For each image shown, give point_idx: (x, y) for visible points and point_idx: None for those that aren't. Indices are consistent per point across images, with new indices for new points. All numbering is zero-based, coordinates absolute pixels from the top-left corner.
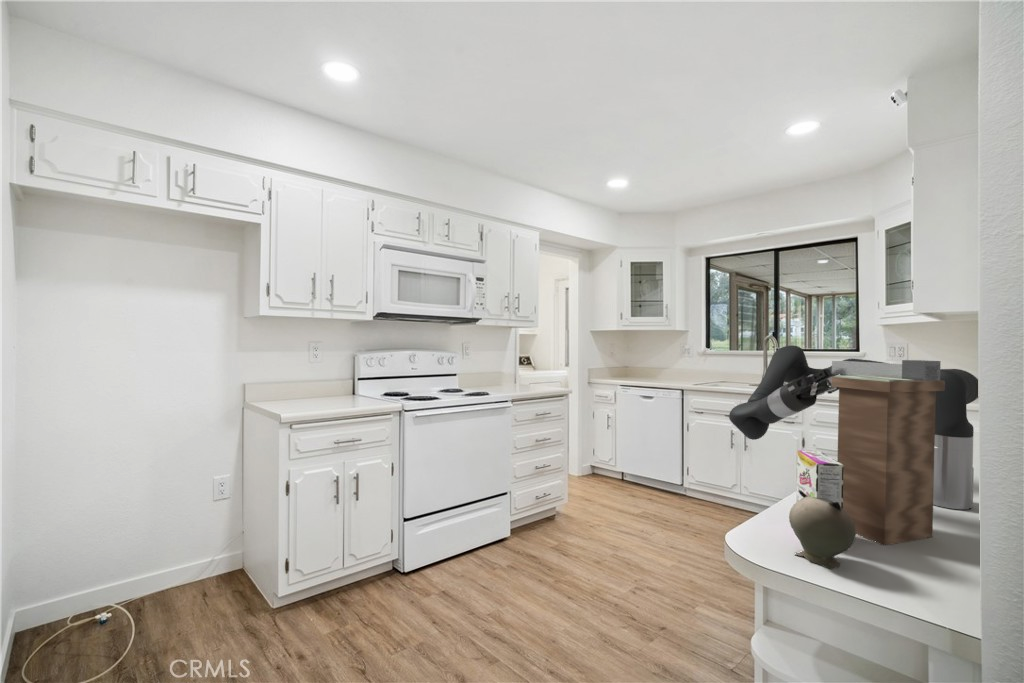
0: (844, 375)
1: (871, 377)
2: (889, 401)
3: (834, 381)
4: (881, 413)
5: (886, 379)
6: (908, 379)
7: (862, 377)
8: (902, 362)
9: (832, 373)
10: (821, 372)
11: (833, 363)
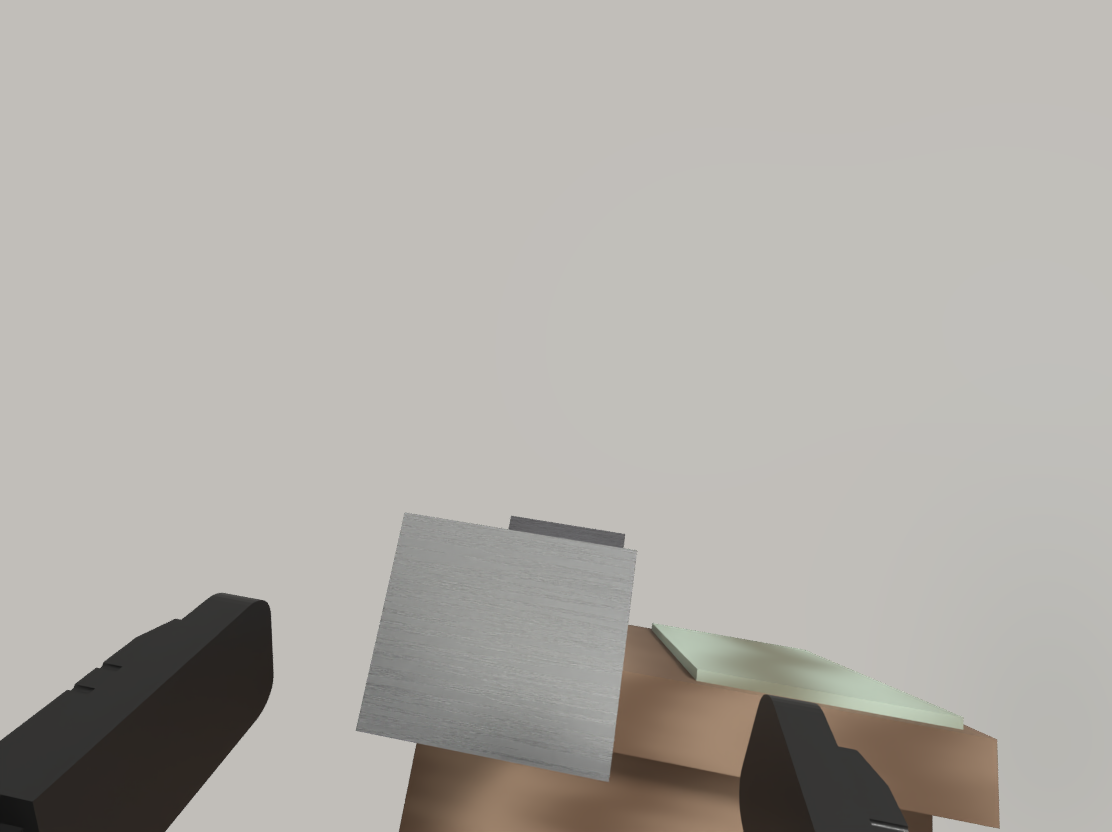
0: (129, 779)
1: (766, 658)
2: None
3: (978, 769)
4: None
5: (785, 649)
6: (666, 626)
7: (831, 671)
8: (623, 545)
9: (607, 773)
10: (881, 803)
11: (628, 590)
